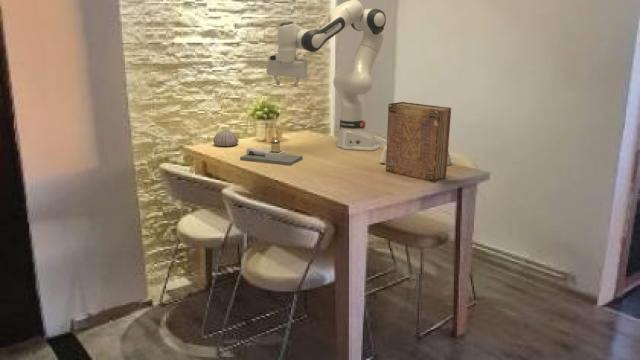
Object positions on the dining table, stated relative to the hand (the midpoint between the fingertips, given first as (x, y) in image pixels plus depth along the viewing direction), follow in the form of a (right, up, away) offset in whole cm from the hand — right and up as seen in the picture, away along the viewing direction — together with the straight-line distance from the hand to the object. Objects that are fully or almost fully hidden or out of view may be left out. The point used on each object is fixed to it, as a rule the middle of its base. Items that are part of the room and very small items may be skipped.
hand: (286, 85), depth 269 cm
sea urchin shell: (-34, -28, +25) cm, 50 cm away
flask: (+74, -39, -11) cm, 84 cm away
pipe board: (-7, -36, -7) cm, 38 cm away
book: (+57, -44, -30) cm, 78 cm away
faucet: (+51, -38, -7) cm, 64 cm away
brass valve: (-5, -35, -8) cm, 36 cm away
